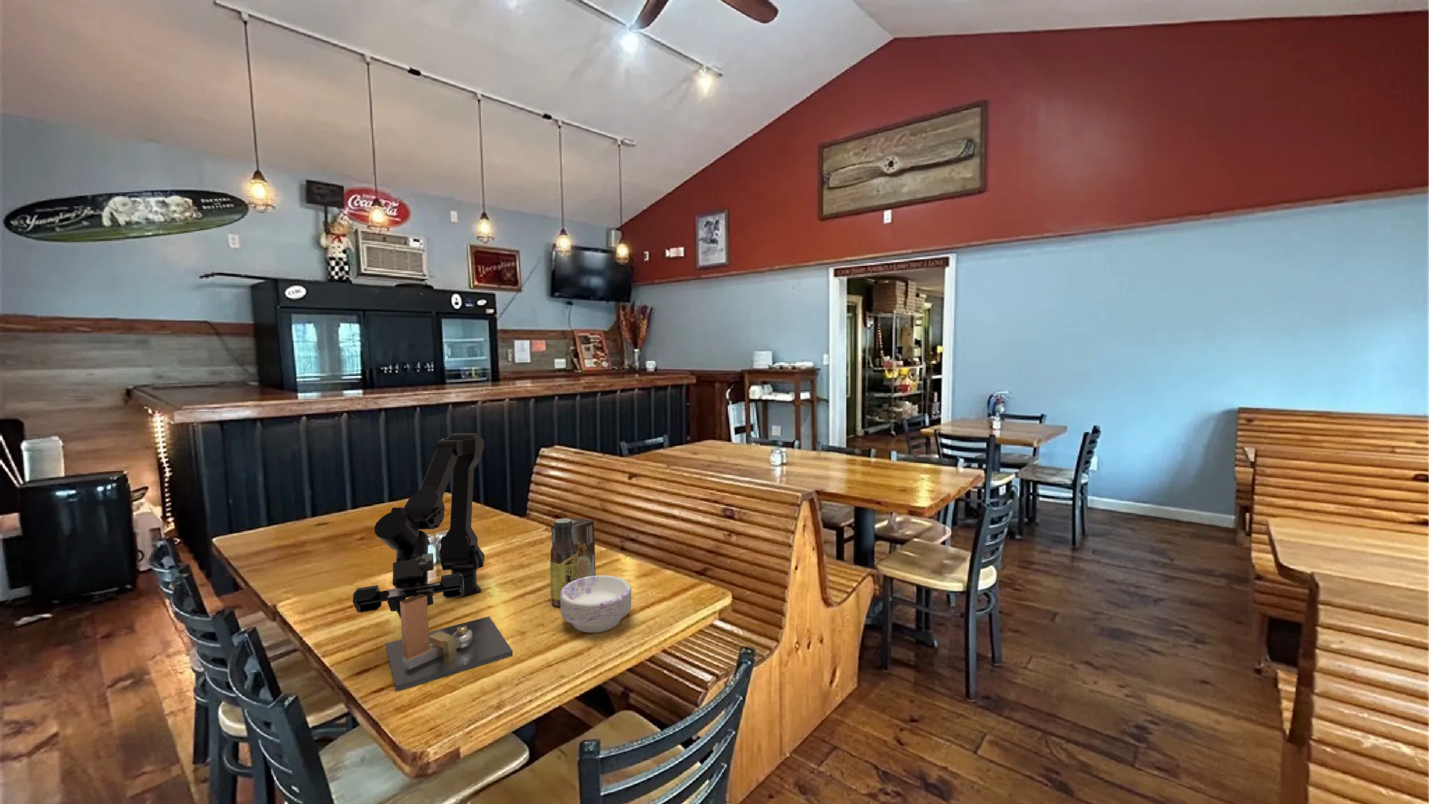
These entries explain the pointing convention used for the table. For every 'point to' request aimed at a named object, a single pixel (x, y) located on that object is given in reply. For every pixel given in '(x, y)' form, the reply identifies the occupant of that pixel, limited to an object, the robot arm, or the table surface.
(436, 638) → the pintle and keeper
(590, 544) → the coffee box
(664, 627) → the table surface
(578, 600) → the paper bowls
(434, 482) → the robot arm
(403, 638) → the link
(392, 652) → the base plate
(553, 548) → the sauce bottle
